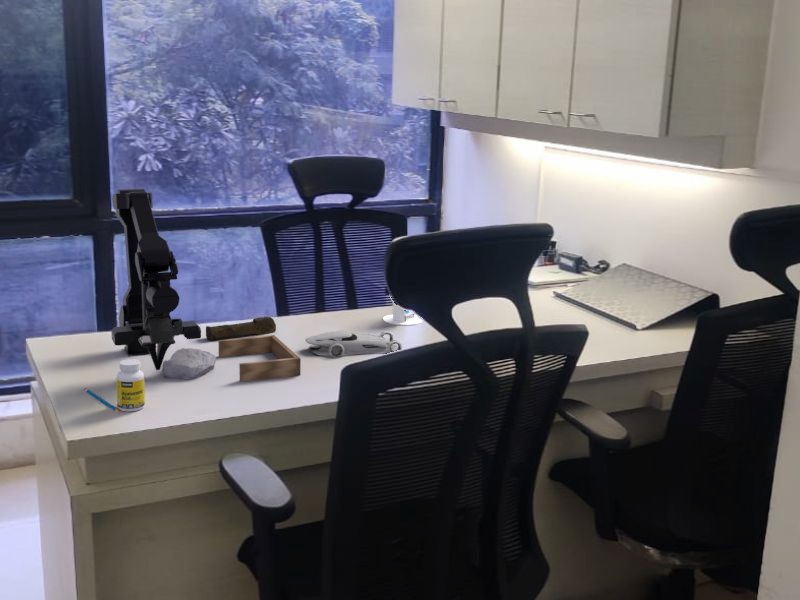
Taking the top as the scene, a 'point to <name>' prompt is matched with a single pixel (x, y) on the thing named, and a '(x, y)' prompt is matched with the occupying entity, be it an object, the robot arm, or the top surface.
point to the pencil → (101, 400)
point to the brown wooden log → (242, 329)
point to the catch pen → (262, 369)
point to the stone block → (188, 363)
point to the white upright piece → (401, 317)
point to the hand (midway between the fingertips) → (157, 369)
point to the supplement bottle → (130, 386)
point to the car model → (351, 343)
